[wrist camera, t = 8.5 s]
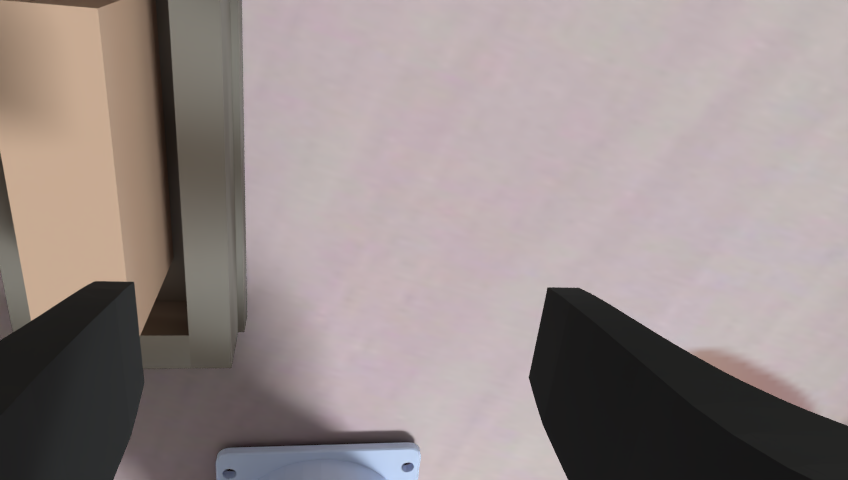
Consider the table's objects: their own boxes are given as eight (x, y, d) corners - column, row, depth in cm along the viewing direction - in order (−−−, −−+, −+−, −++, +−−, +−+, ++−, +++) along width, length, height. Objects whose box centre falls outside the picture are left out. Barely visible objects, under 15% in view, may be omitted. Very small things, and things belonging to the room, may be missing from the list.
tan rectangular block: (173, 257, 20) (134, 350, 16) (98, 256, 20) (36, 350, 15) (154, -13, 17) (97, 8, 12) (64, -21, 17) (-28, -3, 12)
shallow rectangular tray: (246, 316, 23) (237, 367, 20) (49, 315, 22) (12, 369, 19) (240, -72, 18) (226, -71, 15) (-20, -100, 16) (-85, -105, 14)
